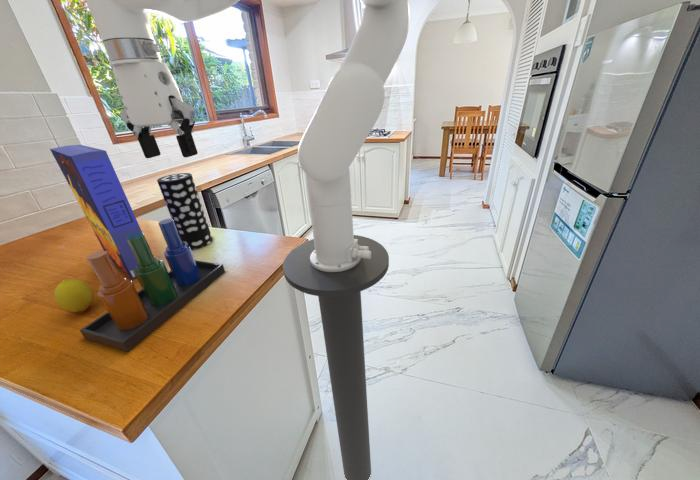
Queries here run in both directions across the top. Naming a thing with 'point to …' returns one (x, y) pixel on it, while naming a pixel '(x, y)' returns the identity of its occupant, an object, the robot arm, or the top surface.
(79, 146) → the cereal box
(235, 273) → the top surface
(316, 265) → the robot arm
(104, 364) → the top surface
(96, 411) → the top surface
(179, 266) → the blue bottle
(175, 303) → the tray
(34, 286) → the top surface
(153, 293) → the green bottle
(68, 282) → the lemon
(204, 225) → the spotted tube
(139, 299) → the amber bottle
